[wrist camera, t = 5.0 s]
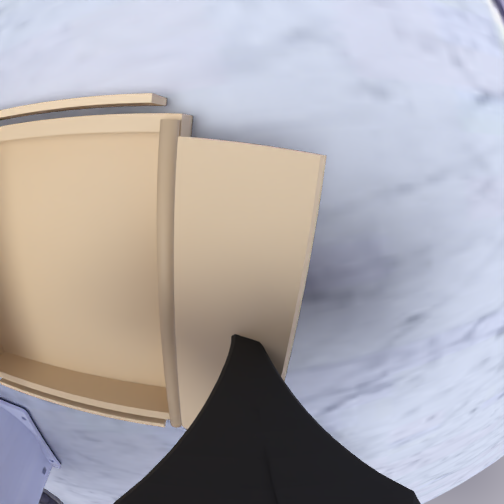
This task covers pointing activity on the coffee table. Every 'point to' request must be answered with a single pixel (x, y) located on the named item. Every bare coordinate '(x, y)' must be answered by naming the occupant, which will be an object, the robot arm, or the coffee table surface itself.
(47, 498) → the mug
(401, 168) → the coffee table surface
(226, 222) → the flap
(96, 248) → the carton
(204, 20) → the coffee table surface
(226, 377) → the robot arm
